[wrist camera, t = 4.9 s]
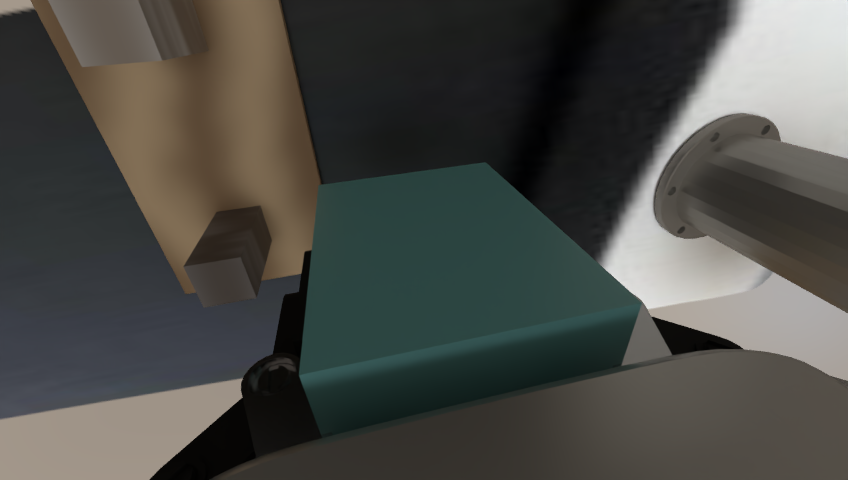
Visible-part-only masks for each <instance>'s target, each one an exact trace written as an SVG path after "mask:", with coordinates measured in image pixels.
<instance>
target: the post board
mask: <svg viewBox="0 0 848 480" xmlns="http://www.w3.org/2000/svg"><path fill="white" fill-rule="evenodd" d="M31 2H32V4H33V6H34V8H35V9H36V11H37V13H38V15H39V17H40V19H41V21H42V23H43V25H44V27H45V28H46V30H47V32H48V34H49V36H50V38H51V40H52V42H53V44H54V45H55V47H56V49H57V51H58V53H59V55H60V57H61V59H62V61H63V62H64V64H65V66H66V68H67V70H68V72H69V74H70V76H71V78H72V80H73V81H74V83H75V85H76V87H77V89H78V91H79V93H80V95H81V97H82V98H83V100H84V102H85V104H86V106H87V108H88V110H89V112H90V114H91V115H92V117H93V119H94V121H95V123H96V125H97V127H98V129H99V131H100V133H101V134H102V136H103V138H104V140H105V142H106V144H107V146H108V148H109V150H110V151H111V153H112V155H113V157H114V159H115V161H116V163H117V165H118V167H119V168H120V170H121V172H122V174H123V176H124V178H125V180H126V182H127V184H128V186H129V187H130V189H131V191H132V193H133V195H134V197H135V199H136V201H137V203H138V204H139V206H140V208H141V210H142V212H143V214H144V216H145V218H146V220H147V221H148V223H149V225H150V227H151V229H152V231H153V233H154V235H155V237H156V239H157V240H158V242H159V244H160V246H161V248H162V250H163V252H164V254H165V256H166V257H167V259H168V261H169V263H170V265H171V267H172V269H173V271H174V273H175V274H176V276H177V278H178V280H179V282H180V284H181V286H182V288H183V290H184V292H185V293H186V294H189V293H195V292H196V293H197V295H198V297H199V299H200V301H201V303H202V305H203V307H204V308H205V307H210V306H216V305H221V304H226V303H232V302H237V301H243V300H248V299H254V298H257V295H258V291H259V287H260V283H261V281H262V280H268V279H274V278H279V277H285V276H290V275H296V274H301V273H302V266H303V258H304V252H305V251H309V250H312V243H313V233H314V223H315V214H316V204H317V194H318V185H322V183H321V178H320V174H319V169H318V165H317V161H316V156H315V152H314V147H313V143H312V138H311V134H310V130H309V125H308V121H307V116H306V112H305V107H304V103H303V99H302V94H301V90H300V85H299V81H298V76H297V72H296V68H295V63H294V59H293V54H292V50H291V45H290V41H289V37H288V32H287V28H286V23H285V19H284V15H283V10H282V6H281V1H280V0H31Z"/></svg>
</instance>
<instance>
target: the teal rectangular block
mask: <svg viewBox="0 0 848 480" xmlns="http://www.w3.org/2000/svg"><path fill="white" fill-rule="evenodd" d="M641 305H642V302H641V301H640V300H639V299H637V298H636V297H635V296H634V295H633V294H632V293H631V292H630V291H628V290H627V289H626V288H625V287H624V286H623V285H622V284H621V283H620V282H618V281H617V280H616V279H615V278H614V277H613V276H612V275H611V274H610V273H608V272H607V271H606V270H605V269H604V268H603V267H602V266H601V265H599V264H598V263H597V262H596V261H595V260H594V259H593V258H592V257H591V256H589V255H588V254H587V253H586V252H585V251H584V250H583V249H582V248H581V247H579V246H578V245H577V244H576V243H575V242H574V241H573V240H572V239H570V238H569V237H568V236H567V235H566V234H565V233H564V232H563V231H562V230H560V229H559V228H558V227H557V226H556V225H555V224H554V223H553V222H552V221H550V220H549V219H548V218H547V217H546V216H545V215H544V214H543V213H541V212H540V211H539V210H538V209H537V208H536V207H535V206H534V205H533V204H531V203H530V202H529V201H528V200H527V199H526V198H525V197H524V196H523V195H521V194H520V193H519V192H518V191H517V190H516V189H515V188H514V187H512V186H511V185H510V184H509V183H508V182H507V181H506V180H505V179H504V178H502V177H501V176H500V175H499V174H498V173H497V172H496V171H495V170H493V169H492V168H491V167H490V166H489V165H488V164H487V163H486V162H485V163H477V164H470V165H463V166H455V167H448V168H441V169H433V170H426V171H419V172H411V173H404V174H397V175H389V176H382V177H375V178H367V179H360V180H353V181H345V182H338V183H331V184H323V185H318V194H317V204H316V214H315V223H314V233H313V243H312V253H311V262H310V272H309V282H308V291H307V301H306V311H305V321H304V330H303V340H302V350H301V359H300V369H299V377H300V380H301V382H302V385H303V388H304V390H305V393H306V396H307V398H308V401H309V404H310V406H311V409H312V412H313V415H314V417H315V420H316V423H317V425H318V428H319V431H320V433H321V434H326V433H330V432H332V434H333V435H336V434H340V433H344V432H347V431H351V430H355V429H359V428H363V427H367V426H371V425H375V424H379V423H383V422H388V421H392V420H396V419H400V418H404V417H408V416H412V415H416V414H420V413H424V412H429V411H433V410H437V409H441V408H445V407H449V406H453V405H457V404H462V403H466V402H470V401H474V400H478V399H483V398H487V397H491V396H495V395H499V394H504V393H508V392H512V391H516V390H520V389H525V388H529V387H533V386H537V385H542V384H546V383H550V382H554V381H559V380H563V379H567V378H572V377H576V376H580V375H585V374H589V373H593V372H597V371H602V370H606V369H610V368H612V367H613V365H617V364H621V363H622V362H623V359H624V356H625V353H626V350H627V347H628V344H629V341H630V338H631V335H632V332H633V329H634V326H635V323H636V320H637V317H638V314H639V311H640V308H641Z"/></svg>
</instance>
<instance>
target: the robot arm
mask: <svg viewBox="0 0 848 480" xmlns="http://www.w3.org/2000/svg"><path fill="white" fill-rule="evenodd" d="M655 214H656V217H657V220H658V222H659V223H660V225H661V227H663V228H664V229H665V230H666V231H668V232H669V233H671V234H673V235H674V236H676V237H680V238H684V239H694V238H699V237H704V236H707V235H708V236H710V237H711V238H713V239H715V240H717V241H719V242H720V243H722V244H724V245H726V246H728V247H729V248H731V249H733V250H735V251H737V252H738V253H740V254H742V255H744V256H746V257H747V258H749V259H751V260H753V261H755V262H756V263H758V264H760V265H762V266H764V267H765V268H767V269H769V270H771V271H773V272H774V273H776V274H778V275H780V276H782V277H784V278H785V279H787V280H789V281H791V282H792V283H794V284H796V285H798V286H800V287H801V288H803V289H805V290H807V291H809V292H811V293H812V294H814V295H816V296H818V297H820V298H821V299H823V300H825V301H827V302H828V303H830V304H832V305H834V306H836V307H837V308H840V309H841V310H843V311H845V312H846V313H848V159H847V158H843V157H839V156H835V155H831V154H828V153H824V152H820V151H816V150H812V149H808V148H804V147H800V146H796V145H792V144H788V143H785V142H781V139H780V135H779V132H778V129H777V128H776V126H775V125H774V123H773V122H771V121H770V120H768V119H767V118H764V117H761V116H757V115H752V114H744V113H743V114H735V115H730V116H728V117H725V118H722V119H719V120H717V121H715V122H714V123H712V124H710V125H708V126H707V127H705V128H704V129H702V130H701V131H700V132H698V133H697V134H695V135H694V136H693V137H692V138H691V139H690V140H689V141H688V142H687V143H686V144H684V146H683V147H682V148H681V149H680V150H679V151H678V153H677V154H676V155H675V156H674V158H673V159H672V161H671V162H670V163H669V165H668V166H667V168H666V170H665V172H664V174H663V176H662V178H661V180H660V183H659V186H658V189H657V192H656V198H655ZM311 253H312V250H309V251H305V252H304V258H303V266H302V273H301V281H300V288H299V292H297V293H291V294H286V295H285V296H284V298H283V303H282V308H281V313H280V319H279V324H278V329H277V335H276V340H275V345H274V351H273V354H272V355H269V356H266V357H264V358H263V359H261V360H259V361H257V362H256V363H255V364H254V365H253V366H252V367H250V369H249V370H248V371H247V372H246V374H245V375H244V377H243V380H242V382H241V392H242V397H243V398H242V399H240V400H239V401H238V402H237V403H236V404H234V405H233V406H232V407H231V408H230V409H229V410H228V411H226V412H225V413H224V414H223V415H222V416H221V417H219V418H218V419H217V420H216V421H215V422H214V423H213V424H212V425H210V426H209V427H208V428H207V429H206V430H204V431H203V432H202V433H201V434H200V435H199V436H197V437H196V438H195V439H194V440H193V441H192V442H191V443H190V444H188V445H187V446H186V447H185V448H184V449H183V450H181V451H180V452H179V453H178V454H177V455H175V456H174V457H173V458H172V459H171V460H170V461H168V462H167V463H166V464H165V465H164V466H163V467H162V468H160V469H159V471H157V472H156V474H155V475H154V476H153V477H152V478H151V479H150V480H848V381H846V380H842V379H839V378H835V377H832V376H829V375H827V374H825V373H824V372H822V371H820V370H819V369H817V368H815V367H813V366H811V365H809V364H807V363H805V362H802V361H800V360H797V359H794V358H791V357H787V356H783V355H779V354H775V353H769V352H763V351H754V350H744V349H743V348H741V347H740V346H738V345H737V344H735V343H733V342H731V341H729V340H727V339H724V338H721V337H718V336H715V335H712V334H708V333H705V332H702V331H698V330H695V329H692V328H688V327H685V326H681V325H678V324H675V323H672V322H668V321H665V320H661V319H658V318H655V317H651V316H650V314H649V312H648V310H647V308H646V307H645V305H644V303H643V302H642V301H641V300H640V299H639V298H638V297H636V296H635V295H634V296H635V297H636V298H637V299H639V300H640V301H641V302H642V305H641V308H640V311H639V314H638V317H637V320H636V323H635V326H634V329H633V332H632V335H631V338H630V341H629V344H628V347H627V350H626V353H625V356H624V359H623V362H622V363H621V364H617V365H613V367H612V368H610V369H606V370H602V371H597V372H593V373H589V374H585V375H580V376H576V377H572V378H567V379H563V380H559V381H554V382H550V383H546V384H542V385H537V386H533V387H529V388H525V389H520V390H516V391H512V392H508V393H504V394H499V395H495V396H491V397H487V398H483V399H478V400H474V401H470V402H466V403H462V404H457V405H453V406H449V407H445V408H441V409H437V410H433V411H429V412H424V413H420V414H416V415H412V416H408V417H404V418H400V419H396V420H392V421H388V422H383V423H379V424H375V425H371V426H367V427H363V428H359V429H355V430H351V431H347V432H344V433H340V434H336V435H333V434H332V432H330V433H326V434H321V433H320V431H319V428H318V425H317V423H316V420H315V417H314V415H313V412H312V409H311V406H310V404H309V401H308V398H307V396H306V393H305V390H304V388H303V385H302V382H301V380H300V377H299V369H300V359H301V350H302V340H303V330H304V321H305V311H306V301H307V291H308V282H309V272H310V262H311Z"/></svg>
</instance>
